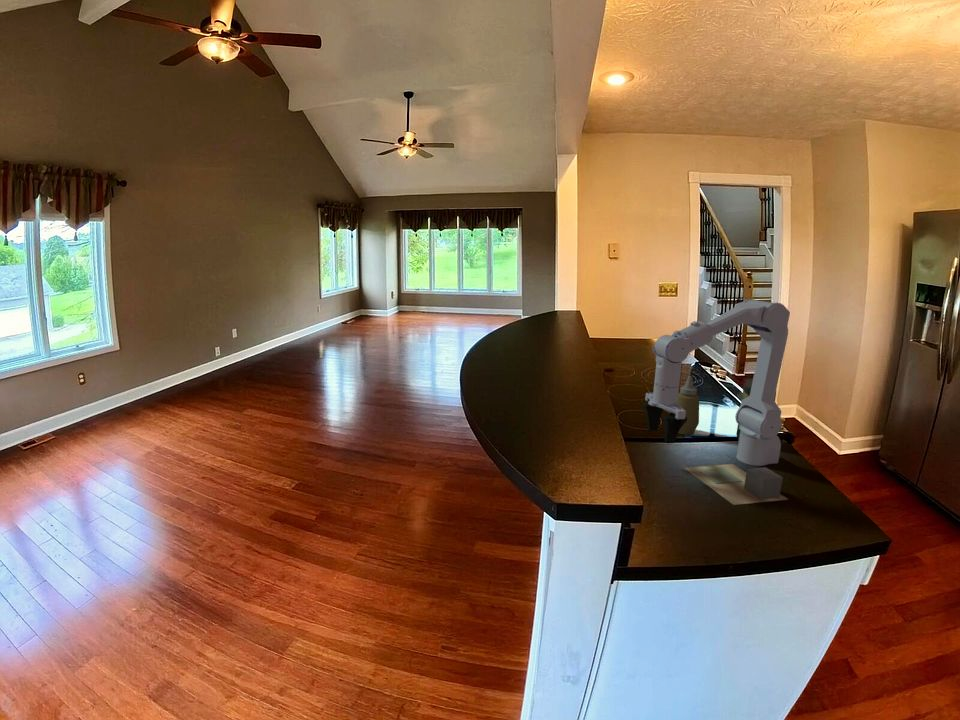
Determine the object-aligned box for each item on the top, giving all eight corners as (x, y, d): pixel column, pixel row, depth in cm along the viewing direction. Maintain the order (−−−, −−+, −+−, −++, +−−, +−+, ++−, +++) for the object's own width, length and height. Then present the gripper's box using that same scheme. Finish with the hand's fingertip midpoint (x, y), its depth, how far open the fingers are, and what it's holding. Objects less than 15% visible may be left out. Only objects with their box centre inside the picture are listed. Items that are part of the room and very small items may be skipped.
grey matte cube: (762, 486, 111) (765, 467, 110) (779, 497, 106) (782, 477, 105) (743, 488, 110) (746, 468, 109) (760, 499, 105) (763, 479, 104)
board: (731, 469, 123) (734, 449, 122) (787, 505, 106) (791, 483, 105) (683, 473, 121) (686, 453, 119) (732, 510, 103) (736, 488, 102)
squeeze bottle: (665, 427, 152) (671, 373, 147) (689, 426, 152) (695, 373, 148) (677, 437, 144) (684, 380, 140) (702, 436, 144) (710, 380, 140)
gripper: (636, 377, 121) (632, 426, 124) (668, 394, 107) (662, 449, 110) (661, 376, 122) (656, 425, 126) (696, 392, 109) (689, 447, 112)
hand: (661, 436), depth 118 cm, fingers open, 7 cm apart
